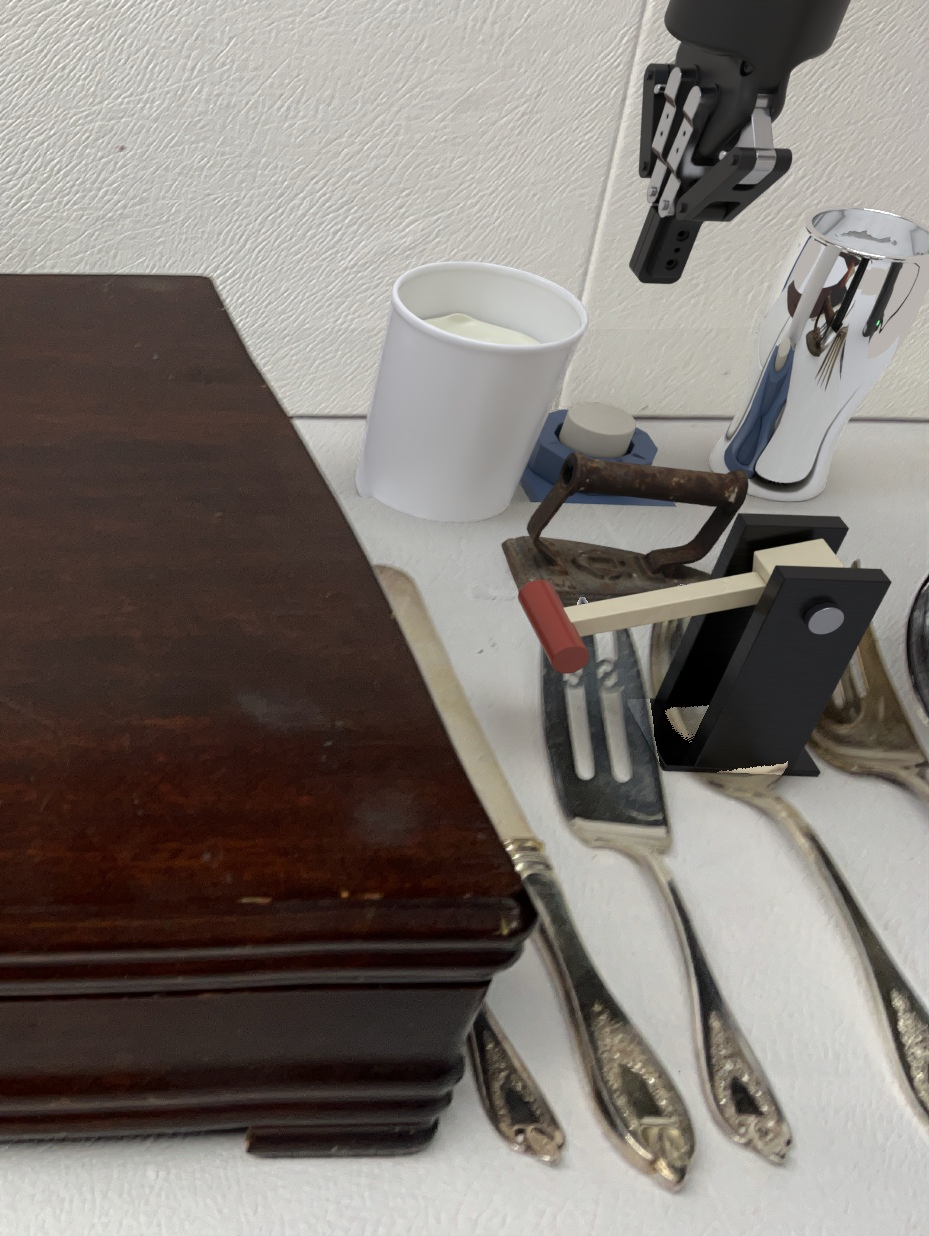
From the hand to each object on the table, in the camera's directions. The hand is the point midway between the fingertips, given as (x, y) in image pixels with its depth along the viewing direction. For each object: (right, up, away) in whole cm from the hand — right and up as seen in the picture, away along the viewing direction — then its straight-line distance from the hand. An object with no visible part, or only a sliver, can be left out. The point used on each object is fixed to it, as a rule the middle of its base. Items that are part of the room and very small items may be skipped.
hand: (651, 276), depth 94 cm
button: (0, -8, +7) cm, 10 cm away
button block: (0, -10, +8) cm, 13 cm away
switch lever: (-7, -19, -15) cm, 26 cm away
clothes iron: (-3, -17, -1) cm, 18 cm away
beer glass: (+11, -10, +8) cm, 17 cm away
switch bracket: (-3, -25, -11) cm, 27 cm away
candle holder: (-9, -11, +7) cm, 16 cm away
